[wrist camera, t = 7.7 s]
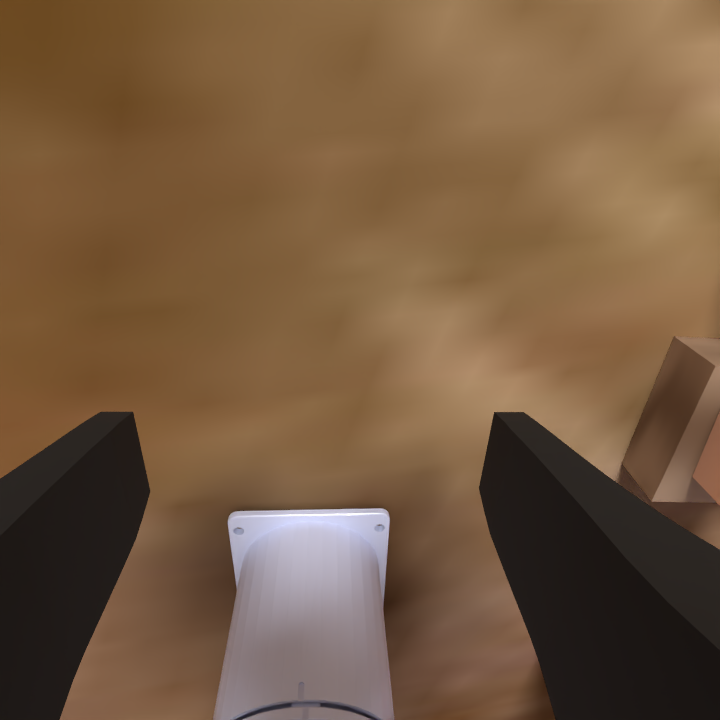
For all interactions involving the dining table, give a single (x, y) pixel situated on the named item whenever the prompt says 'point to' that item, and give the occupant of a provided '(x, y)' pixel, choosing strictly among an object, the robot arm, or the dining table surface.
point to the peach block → (710, 464)
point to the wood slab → (677, 422)
